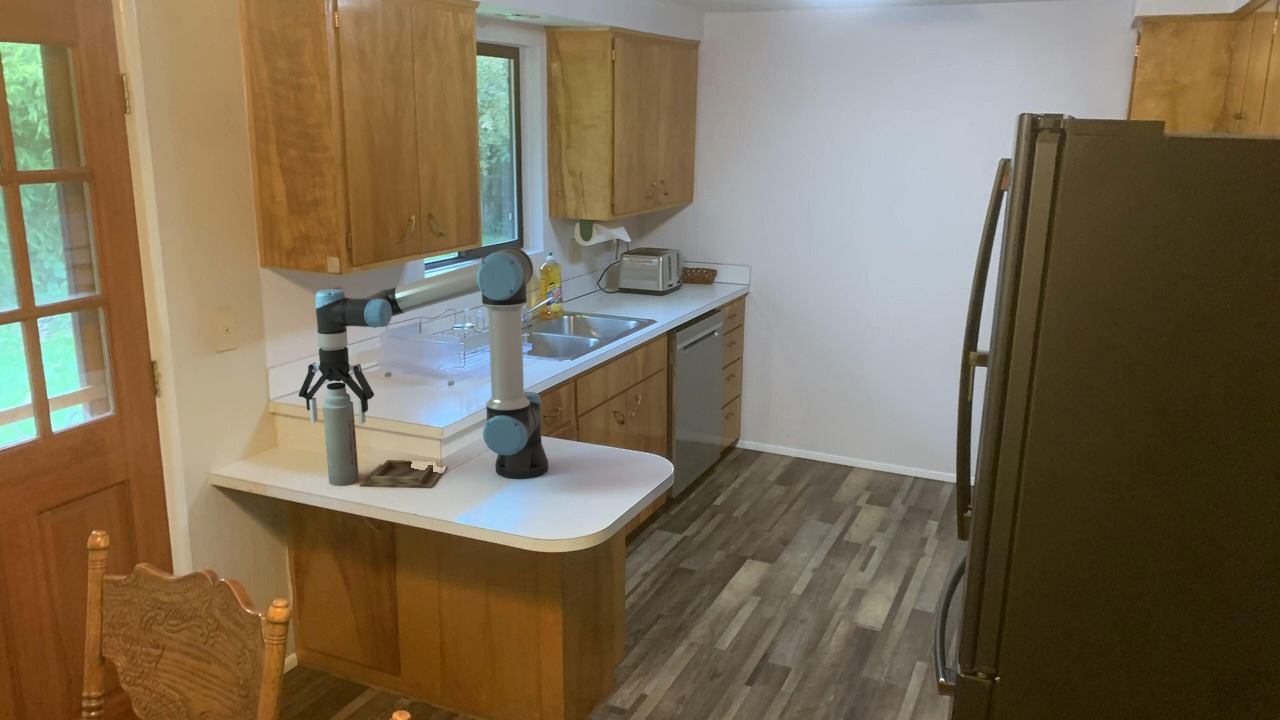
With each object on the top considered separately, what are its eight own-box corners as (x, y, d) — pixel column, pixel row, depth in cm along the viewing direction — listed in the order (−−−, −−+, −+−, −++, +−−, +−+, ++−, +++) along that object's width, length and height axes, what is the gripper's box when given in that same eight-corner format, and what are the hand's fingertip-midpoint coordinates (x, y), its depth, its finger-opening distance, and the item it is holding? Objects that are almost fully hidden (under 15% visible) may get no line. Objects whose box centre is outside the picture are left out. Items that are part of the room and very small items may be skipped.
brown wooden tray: (447, 468, 267) (446, 460, 267) (431, 488, 252) (430, 480, 251) (379, 466, 269) (379, 458, 268) (359, 486, 253) (359, 478, 253)
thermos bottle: (364, 476, 261) (357, 381, 254) (349, 486, 253) (342, 388, 246) (338, 474, 262) (330, 379, 256) (323, 484, 254) (315, 386, 248)
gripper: (383, 345, 252) (387, 419, 256) (294, 342, 253) (300, 416, 258) (373, 351, 244) (378, 427, 249) (282, 348, 246) (288, 424, 251)
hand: (338, 422), depth 254 cm, fingers open, 13 cm apart
